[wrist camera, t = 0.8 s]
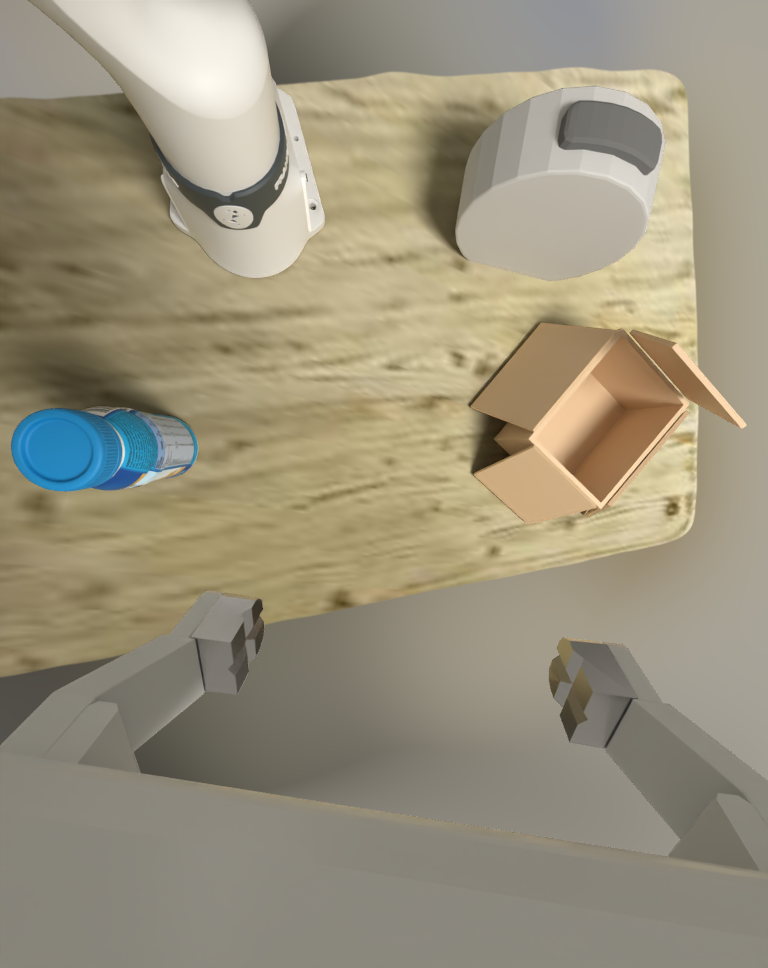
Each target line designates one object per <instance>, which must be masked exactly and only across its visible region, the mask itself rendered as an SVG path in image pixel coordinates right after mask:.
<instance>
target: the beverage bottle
mask: <svg viewBox="0 0 768 968" xmlns="http://www.w3.org/2000/svg"><path fill="white" fill-rule="evenodd" d="M11 450H12V456H13V459H14V462H15V464H16V466H17V467H18V469H19V470H20V472H21V473H22V474H23V475H24V476H25V477H26V478H27V479H29V480H30V481H31V482H33V483H34V484H36V485H38V486H40V487H43V488H46V489H49V490H54V491H75V490H81V489H86V488H90V487H91V488H95V489H100V490H120V489H124V488H134V487H139V486H142V485H145V484H147V483H149V482H151V481H154V480H158V479H163V478H172V477H176V476H179V475H181V474H183V473H185V472H186V471H188V470H189V469H190V468H191V467H192V466H193V464H194V463H195V461H196V459H197V455H198V441H197V438H196V436H195V434H194V432H193V431H192V429H191V428H190V427H189V426H188V425H187V424H186V423H184V422H183V421H181V420H179V419H177V418H175V417H172V416H166V415H158V414H152V413H146V412H140V411H138V410H135V409H131V408H124V407H110V406H96V407H91V408H87V409H84V410H81V411H80V410H73V409H65V408H64V409H63V408H55V409H53V408H51V409H45V410H41V411H37V412H35V413H33V414H31V415H29V416H27V417H26V418H25V419H24V420H22V421H21V423H20V424H19V425H18V426H17V428H16V430H15V432H14V434H13V437H12V442H11Z"/></svg>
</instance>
